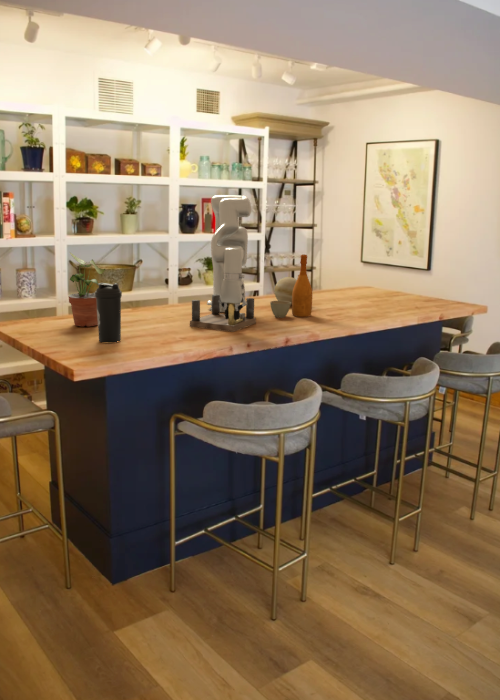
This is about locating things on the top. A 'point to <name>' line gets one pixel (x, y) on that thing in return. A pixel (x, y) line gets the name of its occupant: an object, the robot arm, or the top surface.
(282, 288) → the decorative ball
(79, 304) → the potted plant
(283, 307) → the flower pot
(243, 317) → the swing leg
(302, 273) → the wine bottle
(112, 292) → the water bottle
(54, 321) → the top surface
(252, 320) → the stool seat
